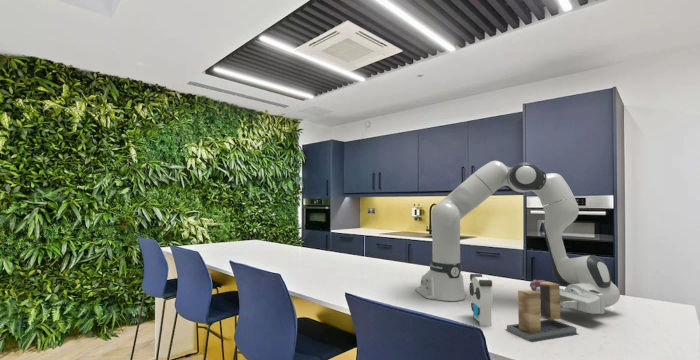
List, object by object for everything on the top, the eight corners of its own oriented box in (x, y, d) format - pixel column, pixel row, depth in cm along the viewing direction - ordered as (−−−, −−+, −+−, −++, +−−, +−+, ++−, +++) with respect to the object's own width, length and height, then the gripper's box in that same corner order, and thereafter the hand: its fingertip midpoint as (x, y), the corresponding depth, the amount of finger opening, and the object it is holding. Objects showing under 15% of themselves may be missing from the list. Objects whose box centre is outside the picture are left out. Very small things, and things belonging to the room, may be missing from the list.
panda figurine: (458, 317, 118) (458, 272, 119) (493, 318, 117) (492, 273, 118) (469, 331, 106) (468, 280, 107) (507, 332, 105) (506, 281, 106)
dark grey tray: (504, 332, 104) (504, 324, 105) (549, 326, 111) (549, 317, 111) (532, 346, 95) (531, 336, 95) (579, 337, 101) (579, 328, 101)
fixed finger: (518, 331, 103) (518, 290, 103) (530, 330, 104) (529, 289, 105) (530, 337, 99) (529, 293, 99) (541, 335, 100) (540, 292, 101)
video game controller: (530, 295, 153) (527, 281, 151) (532, 288, 156) (530, 275, 154) (556, 299, 146) (553, 285, 144) (558, 292, 149) (556, 279, 147)
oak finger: (539, 319, 117) (539, 282, 118) (549, 317, 118) (548, 281, 119) (550, 323, 113) (549, 285, 114) (560, 321, 115) (559, 284, 115)
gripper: (552, 281, 131) (523, 283, 126) (608, 295, 112) (577, 298, 107) (552, 298, 131) (523, 301, 126) (609, 315, 111) (577, 320, 107)
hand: (548, 300), depth 116 cm, fingers open, 8 cm apart
